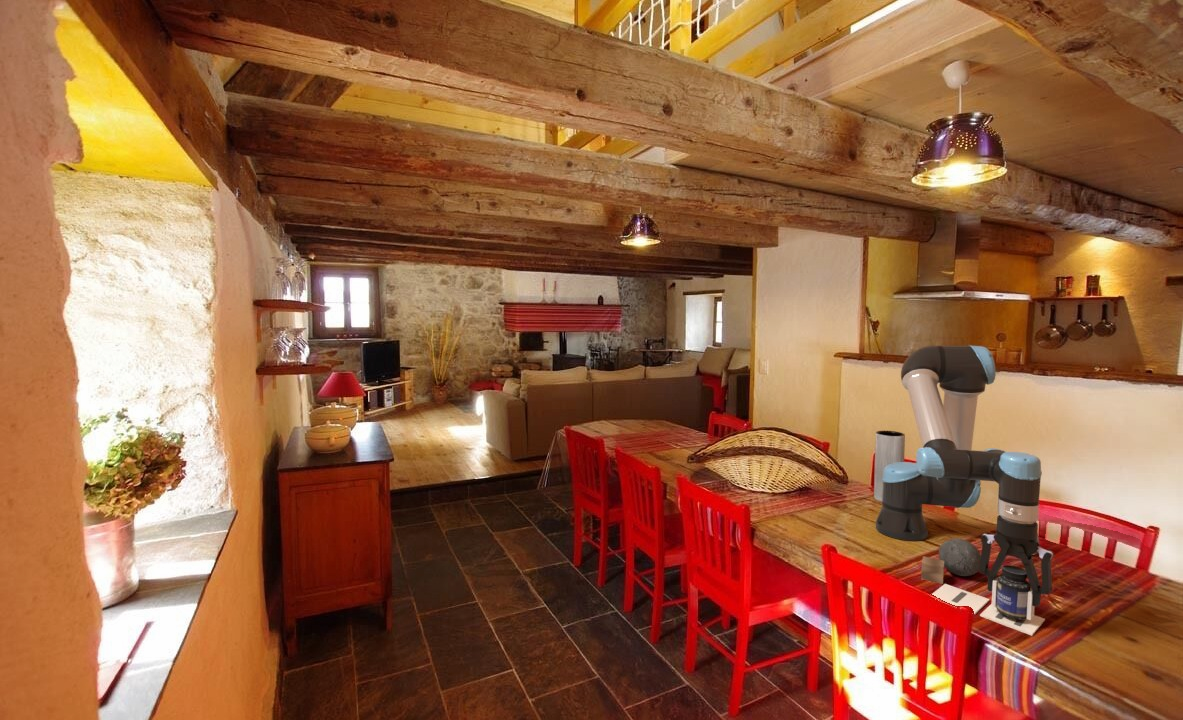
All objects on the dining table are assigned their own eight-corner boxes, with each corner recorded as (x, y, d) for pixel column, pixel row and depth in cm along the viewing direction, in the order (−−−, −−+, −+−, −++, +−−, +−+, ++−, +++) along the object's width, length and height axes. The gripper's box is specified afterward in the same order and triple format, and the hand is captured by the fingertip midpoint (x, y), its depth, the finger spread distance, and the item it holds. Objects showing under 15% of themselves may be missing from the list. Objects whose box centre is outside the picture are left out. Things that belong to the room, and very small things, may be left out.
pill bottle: (989, 607, 128) (991, 564, 127) (1012, 605, 129) (1014, 562, 128) (1012, 621, 122) (1014, 576, 121) (1035, 619, 122) (1038, 574, 122)
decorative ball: (946, 580, 144) (947, 545, 143) (932, 564, 153) (933, 531, 152) (988, 585, 141) (989, 549, 140) (971, 567, 150) (973, 534, 150)
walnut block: (921, 580, 144) (921, 562, 144) (922, 573, 148) (923, 556, 148) (942, 585, 141) (943, 567, 141) (943, 578, 145) (944, 560, 145)
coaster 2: (979, 616, 126) (980, 614, 126) (994, 602, 132) (994, 600, 132) (1032, 635, 118) (1032, 633, 118) (1044, 620, 124) (1044, 618, 124)
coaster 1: (929, 597, 135) (929, 595, 135) (945, 585, 141) (945, 583, 141) (975, 614, 127) (975, 612, 127) (989, 600, 133) (989, 598, 133)
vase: (902, 505, 200) (904, 437, 198) (872, 501, 205) (874, 434, 203) (903, 498, 208) (905, 432, 206) (875, 493, 214) (876, 429, 212)
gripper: (964, 510, 129) (960, 599, 131) (1066, 535, 113) (1060, 635, 115) (975, 503, 133) (971, 589, 135) (1075, 527, 118) (1068, 623, 120)
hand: (1012, 610), depth 125 cm, fingers closed on pill bottle, 6 cm apart
